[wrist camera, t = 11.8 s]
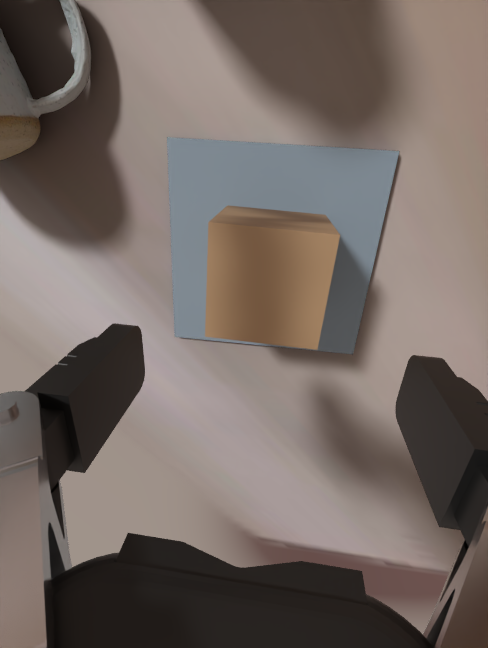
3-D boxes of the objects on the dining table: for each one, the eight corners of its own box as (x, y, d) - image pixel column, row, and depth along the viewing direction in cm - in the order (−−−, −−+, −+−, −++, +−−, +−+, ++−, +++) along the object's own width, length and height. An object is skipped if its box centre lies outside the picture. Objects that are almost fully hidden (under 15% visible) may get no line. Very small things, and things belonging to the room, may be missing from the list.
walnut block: (325, 214, 19) (340, 234, 14) (309, 305, 22) (317, 349, 17) (227, 205, 19) (208, 222, 14) (222, 296, 22) (205, 336, 17)
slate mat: (396, 151, 18) (399, 151, 17) (351, 351, 23) (352, 354, 23) (169, 137, 19) (167, 137, 18) (176, 333, 24) (174, 336, 24)
